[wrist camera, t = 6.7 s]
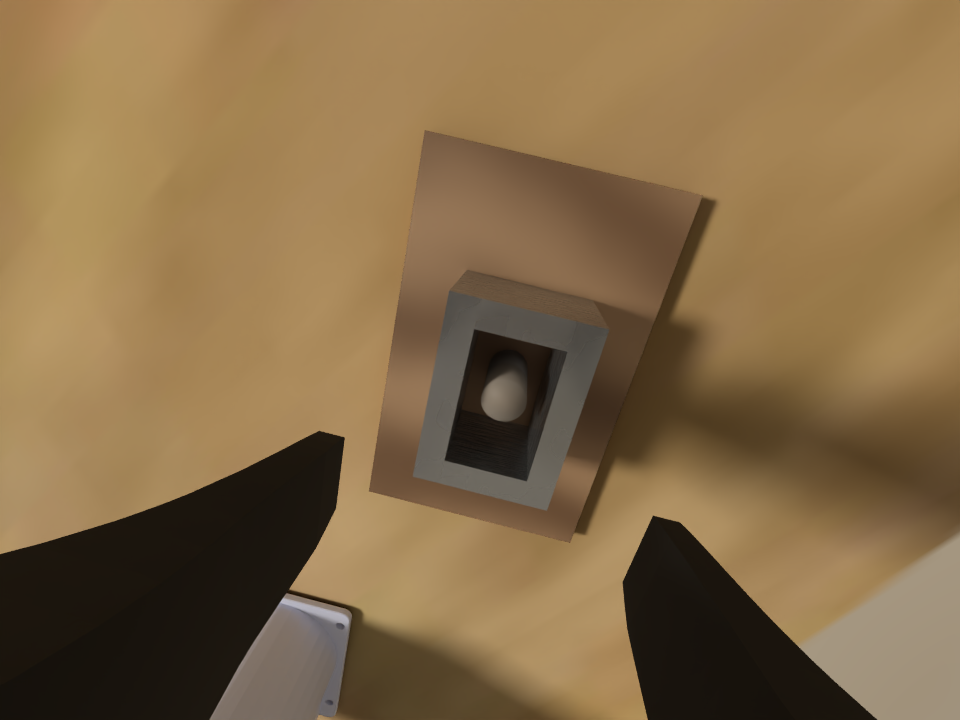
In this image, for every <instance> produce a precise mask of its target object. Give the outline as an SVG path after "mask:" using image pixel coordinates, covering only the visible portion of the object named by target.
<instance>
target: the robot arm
mask: <svg viewBox="0 0 960 720" xmlns="http://www.w3.org/2000/svg"><path fill="white" fill-rule="evenodd" d="M344 439H345V437H341V436H337V435H333V434H329V433H325V432H321V431H318V432H316V433H314V434H312V435H310V436H308V437H306V438H304V439H302V440H300V441H298V442H296V443H294V444H293V445H291V446H289V447H287V448H285V449H283V450H281V451H279V452H277V453H275V454H273V455H271V456H269V457H267V458H265V459H263V460H261V461H259V462H257V463H255V464H253V465H251V466H249V467H247V468H245V469H243V470H241V471H239V472H237V473H234V474H232V475H230V476H228V477H225V478H223V479H221V480H219V481H216V482H214V483H212V484H210V485H208V486H205V487H203V488H201V489H199V490H196V491H194V492H192V493H189V494H187V495H185V496H182V497H180V498H177V499H175V500H172V501H170V502H167V503H164V504H162V505H159V506H156V507H154V508H151V509H148V510H145V511H143V512H140V513H137V514H134V515H131V516H129V517H126V518H123V519H120V520H117V521H114V522H111V523H107V524H104V525H101V526H98V527H94V528H91V529H88V530H84V531H81V532H78V533H74V534H71V535H68V536H65V537H61V538H58V539H55V540H51V541H48V542H45V543H41V544H37V545H34V546H30V547H26V548H22V549H18V550H15V551H11V552H7V553H3V554H0V720H317V717H318V715H323V716H327V717H333V716H334V715H335V714H336V711H337V709H338V703H339V696H340V690H341V684H342V677H343V671H344V665H345V658H346V652H347V645H348V639H349V633H350V626H351V620H352V614H351V613H350V611H349V610H347V609H345V608H341V607H337V606H333V605H329V604H326V603H322V602H318V601H314V600H311V599H307V598H303V597H299V596H295V595H292V594H288V593H287V591H288V590H289V588H290V587H291V585H292V584H293V582H294V581H295V579H296V578H297V576H298V575H299V573H300V572H301V570H302V569H303V567H304V566H305V564H306V563H307V561H308V560H309V558H310V556H311V555H312V553H313V552H314V550H315V549H316V547H317V545H318V543H319V541H320V539H321V537H322V535H323V533H324V531H325V530H326V527H327V525H328V523H329V521H330V519H331V517H332V515H333V513H334V511H335V509H336V504H337V496H338V488H339V480H340V472H341V464H342V455H343V447H344ZM623 591H624V603H625V612H626V621H627V629H628V634H629V639H630V643H631V648H632V652H633V657H634V661H635V666H636V670H637V675H638V679H639V683H640V688H641V692H642V696H643V701H644V705H645V709H646V714H647V718H648V720H877V719H876V718H875V717H873V716H872V715H871V714H870V713H869V712H868V711H866V709H865V708H863V707H862V706H861V705H860V704H859V703H858V702H857V701H856V700H855V699H853V698H852V697H851V696H850V695H849V694H848V693H847V692H846V691H845V690H843V689H842V688H841V687H840V686H839V685H838V684H837V683H835V682H834V681H833V680H832V679H831V678H830V677H829V676H828V675H827V674H826V673H825V672H824V671H823V670H822V669H821V668H820V667H818V666H817V665H816V664H815V663H814V662H813V661H812V660H811V659H810V658H809V657H808V656H807V655H806V654H805V653H804V652H803V651H802V650H801V649H800V648H799V647H798V646H797V645H796V644H795V643H794V642H793V641H792V640H791V639H790V638H789V637H788V636H787V635H786V634H785V633H784V632H783V631H782V630H781V629H780V628H779V627H778V626H777V625H776V624H775V623H774V622H773V621H772V620H771V619H770V618H769V617H768V616H767V615H766V614H765V613H764V612H763V610H762V609H761V608H760V607H759V606H758V605H757V604H756V603H755V602H754V601H753V600H752V599H751V598H750V597H749V596H748V595H747V593H746V592H745V591H744V590H743V589H742V588H741V587H740V586H739V585H738V584H737V583H736V582H735V580H734V579H733V578H732V577H731V576H730V575H729V574H728V573H727V572H726V571H725V570H724V568H723V567H722V566H721V565H720V564H719V563H718V562H717V561H716V560H715V559H714V558H713V556H712V555H711V554H710V553H709V552H708V551H707V550H706V549H705V548H704V547H703V546H702V545H701V543H700V542H699V541H698V540H697V539H696V538H695V537H694V536H693V535H692V534H691V533H690V532H689V531H688V530H687V529H686V528H685V527H684V526H683V525H682V524H681V523H680V522H676V521H672V520H668V519H664V518H660V517H656V516H653V517H652V519H651V521H650V524H649V526H648V528H647V530H646V532H645V534H644V537H643V539H642V541H641V543H640V545H639V548H638V550H637V552H636V554H635V556H634V559H633V561H632V563H631V565H630V567H629V569H628V572H627V574H626V576H625V578H624V580H623Z"/></svg>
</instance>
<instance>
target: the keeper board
mask: <svg viewBox="0 0 960 720" xmlns="http://www.w3.org/2000/svg"><path fill="white" fill-rule="evenodd" d="M702 196H703V195H699V194H694V193H690V192H686V191H682V190H677V189H673V188H669V187H665V186H660V185H656V184H652V183H647V182H643V181H639V180H635V179H630V178H626V177H622V176H618V175H613V174H609V173H605V172H601V171H596V170H592V169H588V168H584V167H579V166H575V165H571V164H566V163H562V162H558V161H554V160H549V159H545V158H541V157H537V156H532V155H528V154H524V153H520V152H515V151H511V150H507V149H503V148H498V147H494V146H490V145H485V144H481V143H477V142H473V141H468V140H464V139H460V138H456V137H451V136H447V135H443V134H439V133H434V132H430V131H426V130H425V132H424V139H423V145H422V152H421V158H420V165H419V171H418V178H417V184H416V190H415V197H414V203H413V210H412V216H411V223H410V229H409V236H408V242H407V249H406V255H405V262H404V268H403V275H402V281H401V288H400V294H399V301H398V307H397V313H396V320H395V326H394V333H393V339H392V346H391V352H390V359H389V365H388V372H387V378H386V385H385V391H384V398H383V404H382V411H381V417H380V424H379V430H378V436H377V443H376V449H375V456H374V462H373V469H372V475H371V482H370V488H369V491H370V492H374V493H378V494H382V495H386V496H390V497H394V498H398V499H401V500H405V501H409V502H413V503H417V504H421V505H425V506H429V507H433V508H436V509H440V510H444V511H448V512H452V513H456V514H460V515H464V516H468V517H471V518H475V519H479V520H483V521H487V522H491V523H495V524H499V525H503V526H507V527H510V528H514V529H518V530H522V531H526V532H530V533H534V534H538V535H542V536H545V537H549V538H553V539H557V540H561V541H565V542H569V543H570V542H571V539H572V536H573V534H574V531H575V528H576V526H577V523H578V521H579V518H580V515H581V513H582V510H583V508H584V505H585V502H586V500H587V497H588V494H589V492H590V489H591V487H592V484H593V481H594V479H595V476H596V473H597V471H598V468H599V466H600V463H601V460H602V458H603V455H604V453H605V450H606V447H607V445H608V442H609V439H610V437H611V434H612V432H613V429H614V426H615V424H616V421H617V419H618V416H619V413H620V411H621V408H622V405H623V403H624V400H625V398H626V395H627V392H628V390H629V387H630V385H631V382H632V379H633V377H634V374H635V371H636V369H637V366H638V364H639V361H640V358H641V356H642V353H643V351H644V348H645V345H646V343H647V340H648V337H649V335H650V332H651V330H652V327H653V324H654V322H655V319H656V316H657V314H658V311H659V309H660V306H661V303H662V301H663V298H664V296H665V293H666V290H667V288H668V285H669V282H670V280H671V277H672V275H673V272H674V269H675V267H676V264H677V262H678V259H679V256H680V254H681V251H682V248H683V246H684V243H685V241H686V238H687V235H688V233H689V230H690V228H691V225H692V222H693V220H694V217H695V214H696V212H697V209H698V207H699V204H700V201H701V199H702ZM466 270H471V271H475V272H479V273H483V274H487V275H491V276H495V277H500V278H504V279H508V280H512V281H516V282H520V283H524V284H528V285H533V286H537V287H541V288H545V289H549V290H553V291H557V292H561V293H566V294H570V295H574V296H578V297H582V298H586V299H590V300H593V301H594V303H595V305H596V307H597V308H598V310H599V312H600V314H601V315H602V317H603V319H604V321H605V323H606V324H607V326H608V328H609V333H608V335H607V338H606V341H605V344H604V347H603V350H602V353H601V356H600V359H599V361H598V364H597V367H596V370H595V373H594V376H593V379H592V382H591V385H590V388H589V390H588V393H587V396H586V399H585V402H584V405H583V408H582V411H581V414H580V417H579V419H578V422H577V425H576V428H575V431H574V434H573V437H572V440H571V443H570V446H569V448H568V451H567V454H566V457H565V460H564V463H563V466H562V469H561V472H560V475H559V477H558V480H557V483H556V486H555V489H554V492H553V495H552V498H551V501H550V504H549V506H548V509H547V511H546V510H542V509H538V508H534V507H530V506H526V505H522V504H518V503H514V502H510V501H506V500H503V499H499V498H495V497H491V496H487V495H483V494H479V493H475V492H471V491H467V490H463V489H459V488H456V487H452V486H448V485H444V484H440V483H436V482H432V481H428V480H424V479H420V478H416V477H413V472H414V467H415V462H416V457H417V452H418V447H419V441H420V436H421V431H422V426H423V421H424V416H425V411H426V406H427V401H428V396H429V390H430V385H431V380H432V375H433V370H434V365H435V360H436V355H437V350H438V345H439V340H440V334H441V329H442V324H443V319H444V314H445V309H446V304H447V299H448V294H449V290H450V289H451V288H452V287H453V285H454V284H455V283H456V282H457V281H458V280H459V279H460V277H461V276H462V275H463V274H464V273H465V272H466ZM550 351H551V348H550V347H546V346H542V345H538V344H533V343H529V342H525V341H521V340H517V339H513V338H509V337H505V336H501V335H497V334H493V333H489V332H485V331H481V330H480V331H479V335H478V339H477V344H476V348H475V352H474V357H473V361H472V365H471V370H470V374H469V378H468V383H467V387H466V392H465V396H464V400H463V405H462V410H466V411H470V412H474V413H478V414H482V415H486V416H490V417H491V418H493V419H495V420H498V421H510V422H514V423H518V424H522V425H525V426H528V425H529V421H530V418H531V415H532V411H533V408H534V405H535V401H536V398H537V395H538V391H539V388H540V385H541V381H542V378H543V374H544V371H545V368H546V364H547V361H548V358H549V354H550Z"/></svg>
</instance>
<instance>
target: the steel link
mask: <svg viewBox="0 0 960 720" xmlns="http://www.w3.org/2000/svg"><path fill="white" fill-rule="evenodd" d="M480 330H481V331H485V332H489V333H493V334H497V335H501V336H505V337H509V338H513V339H517V340H521V341H525V342H529V343H533V344H538V345H542V346H546V347H550V348H551V351H550V354H549V358H548V361H547V364H546V368H545V371H544V374H543V378H542V381H541V385H540V388H539V391H538V395H537V398H536V401H535V405H534V408H533V411H532V415H531V418H530V421H529V425H528V426H525V425H522V424H518V423H514V422H510V421H498V420H495V419H493V418H491V417H490V416H486V415H482V414H478V413H474V412H470V411H466V410H462V405H463V400H464V396H465V392H466V387H467V383H468V378H469V374H470V370H471V365H472V361H473V357H474V352H475V348H476V344H477V339H478V335H479V331H480ZM608 333H609V328H608V326H607V324H606V323H605V321H604V319H603V317H602V315H601V314H600V312H599V310H598V308H597V307H596V305H595V303H594V301H593V300H590V299H586V298H582V297H578V296H574V295H570V294H566V293H561V292H557V291H553V290H549V289H545V288H541V287H537V286H533V285H528V284H524V283H520V282H516V281H512V280H508V279H504V278H500V277H495V276H491V275H487V274H483V273H479V272H475V271H471V270H466V272H465V273H464V274H463V275H462V276H461V277H460V279H459V280H458V281H457V282H456V283H455V284H454V285H453V287H452V288H451V289H450V290H449V294H448V299H447V304H446V309H445V314H444V319H443V324H442V329H441V334H440V340H439V345H438V350H437V355H436V360H435V365H434V370H433V375H432V380H431V385H430V390H429V396H428V401H427V406H426V411H425V416H424V421H423V426H422V431H421V436H420V441H419V447H418V452H417V457H416V462H415V467H414V472H413V477H416V478H420V479H424V480H428V481H432V482H436V483H440V484H444V485H448V486H452V487H456V488H459V489H463V490H467V491H471V492H475V493H479V494H483V495H487V496H491V497H495V498H499V499H503V500H506V501H510V502H514V503H518V504H522V505H526V506H530V507H534V508H538V509H542V510H546V511H547V509H548V506H549V504H550V501H551V498H552V495H553V492H554V489H555V486H556V483H557V480H558V477H559V475H560V472H561V469H562V466H563V463H564V460H565V457H566V454H567V451H568V448H569V446H570V443H571V440H572V437H573V434H574V431H575V428H576V425H577V422H578V419H579V417H580V414H581V411H582V408H583V405H584V402H585V399H586V396H587V393H588V390H589V388H590V385H591V382H592V379H593V376H594V373H595V370H596V367H597V364H598V361H599V359H600V356H601V353H602V350H603V347H604V344H605V341H606V338H607V335H608Z"/></svg>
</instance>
